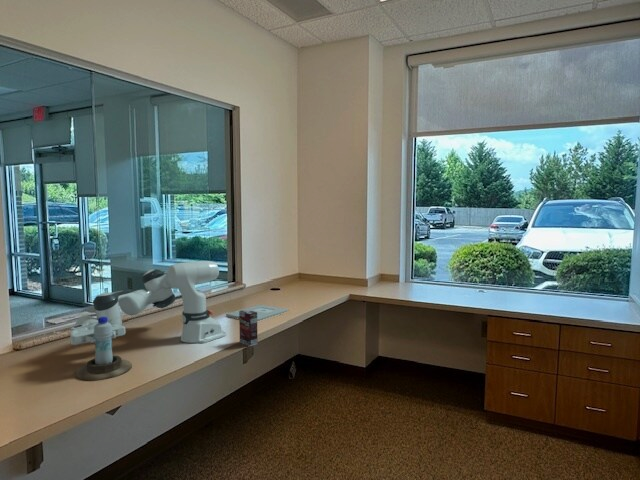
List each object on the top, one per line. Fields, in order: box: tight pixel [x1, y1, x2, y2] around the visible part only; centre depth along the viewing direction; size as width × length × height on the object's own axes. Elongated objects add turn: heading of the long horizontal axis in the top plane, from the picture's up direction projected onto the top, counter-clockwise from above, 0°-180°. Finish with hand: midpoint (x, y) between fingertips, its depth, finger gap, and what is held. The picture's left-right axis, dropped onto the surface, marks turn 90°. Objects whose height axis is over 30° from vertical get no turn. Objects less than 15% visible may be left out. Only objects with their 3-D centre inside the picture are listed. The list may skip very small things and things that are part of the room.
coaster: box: [75, 354, 133, 382], centre depth 167 cm, size 20×20×4 cm
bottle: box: [94, 317, 113, 365], centre depth 167 cm, size 7×7×20 cm
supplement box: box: [238, 308, 258, 347], centre depth 200 cm, size 9×5×16 cm, turn 47°
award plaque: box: [225, 304, 290, 321], centre depth 256 cm, size 25×30×2 cm
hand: (103, 338), depth 166 cm, fingers closed on bottle, 6 cm apart
